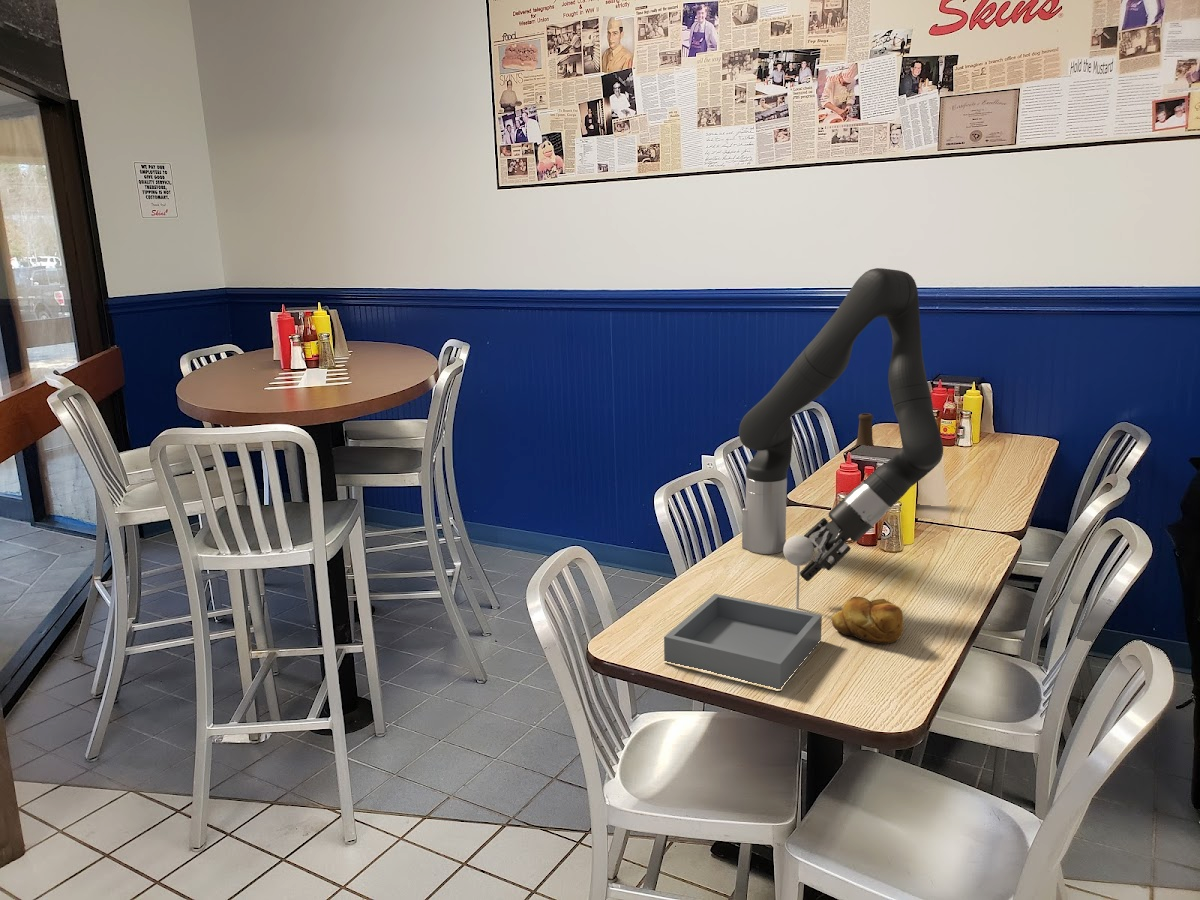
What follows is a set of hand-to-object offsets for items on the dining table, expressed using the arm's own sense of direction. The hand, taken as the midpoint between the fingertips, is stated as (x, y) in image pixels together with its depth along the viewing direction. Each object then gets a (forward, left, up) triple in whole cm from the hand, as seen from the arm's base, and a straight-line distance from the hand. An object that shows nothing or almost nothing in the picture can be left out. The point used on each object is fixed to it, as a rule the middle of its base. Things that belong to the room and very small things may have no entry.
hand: (798, 569), depth 174 cm
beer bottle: (-8, +74, -8) cm, 75 cm away
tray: (-2, -22, -8) cm, 23 cm away
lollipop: (0, 0, -8) cm, 8 cm away
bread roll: (+15, -5, -8) cm, 18 cm away
